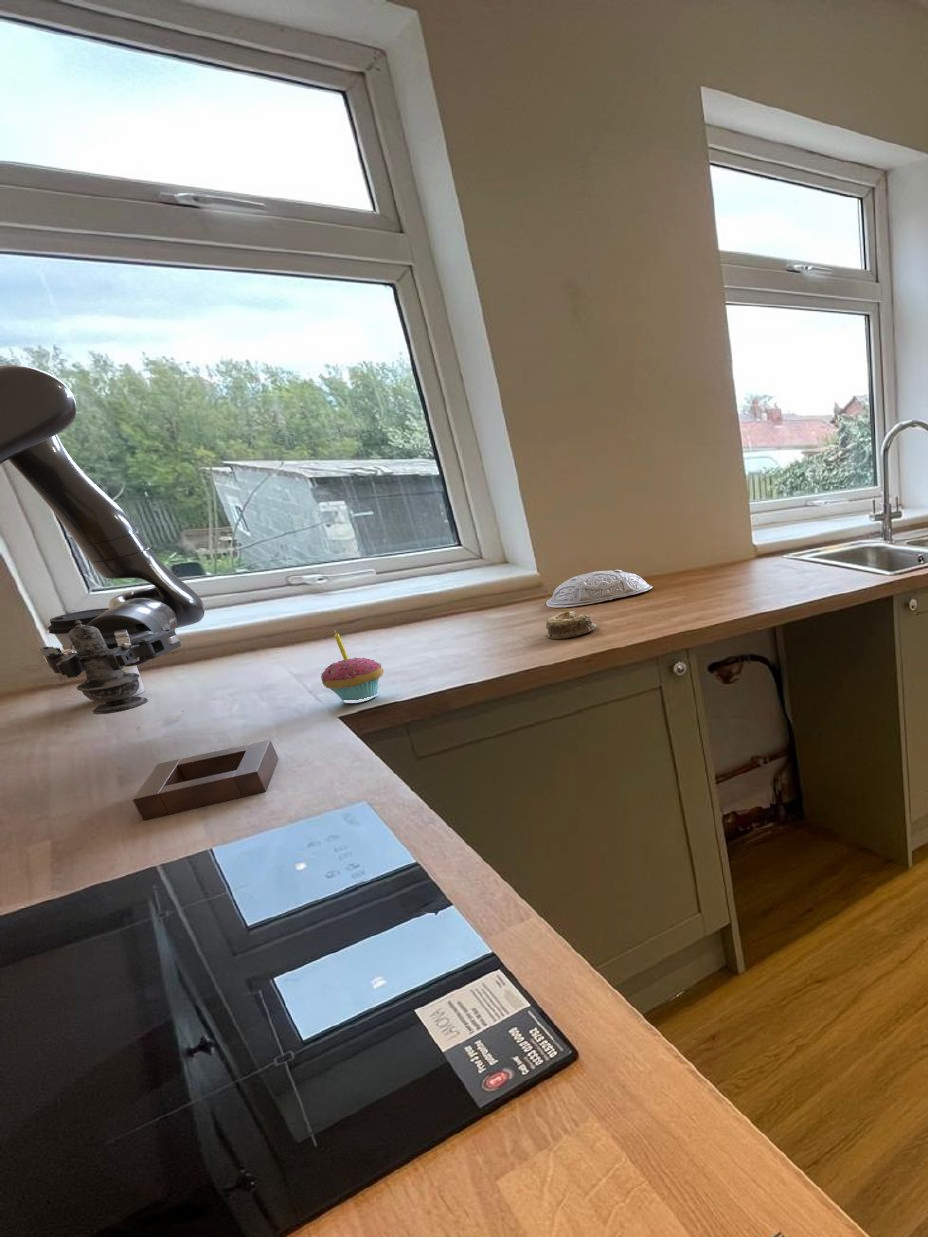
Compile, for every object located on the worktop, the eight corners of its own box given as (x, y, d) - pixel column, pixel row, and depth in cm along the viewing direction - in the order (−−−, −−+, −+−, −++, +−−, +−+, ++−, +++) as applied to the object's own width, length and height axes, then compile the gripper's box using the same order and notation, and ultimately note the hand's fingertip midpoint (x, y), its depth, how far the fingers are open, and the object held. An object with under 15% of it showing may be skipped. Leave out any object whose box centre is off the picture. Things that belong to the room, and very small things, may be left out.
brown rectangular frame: (143, 820, 95) (131, 799, 94) (167, 783, 104) (157, 763, 103) (266, 791, 101) (256, 771, 99) (278, 758, 110) (270, 739, 109)
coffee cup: (71, 704, 134) (27, 622, 128) (131, 684, 143) (92, 606, 137) (114, 706, 133) (71, 622, 127) (173, 685, 141) (135, 607, 135)
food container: (540, 596, 189) (535, 569, 186) (644, 583, 203) (641, 559, 200) (552, 615, 178) (547, 588, 175) (661, 601, 191) (659, 575, 188)
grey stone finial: (150, 694, 106) (109, 610, 101) (151, 705, 102) (109, 618, 97) (90, 707, 102) (44, 620, 97) (88, 719, 98) (41, 629, 93)
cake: (565, 644, 156) (557, 619, 154) (537, 638, 161) (528, 614, 159) (607, 627, 163) (599, 603, 161) (578, 622, 168) (570, 599, 166)
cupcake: (326, 700, 131) (299, 633, 126) (384, 686, 136) (361, 621, 131) (337, 713, 125) (310, 643, 120) (397, 697, 131) (373, 629, 126)
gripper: (46, 617, 105) (-6, 649, 92) (182, 599, 112) (152, 627, 99) (73, 668, 108) (26, 707, 95) (204, 648, 115) (177, 681, 102)
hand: (91, 666), depth 97 cm, fingers closed on grey stone finial, 3 cm apart
